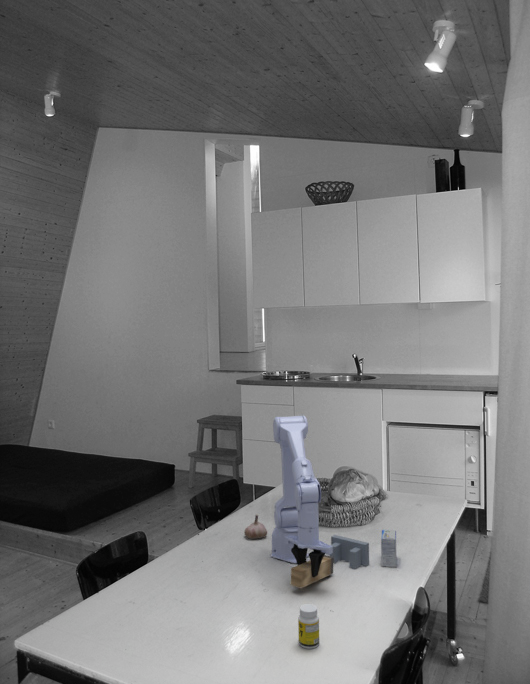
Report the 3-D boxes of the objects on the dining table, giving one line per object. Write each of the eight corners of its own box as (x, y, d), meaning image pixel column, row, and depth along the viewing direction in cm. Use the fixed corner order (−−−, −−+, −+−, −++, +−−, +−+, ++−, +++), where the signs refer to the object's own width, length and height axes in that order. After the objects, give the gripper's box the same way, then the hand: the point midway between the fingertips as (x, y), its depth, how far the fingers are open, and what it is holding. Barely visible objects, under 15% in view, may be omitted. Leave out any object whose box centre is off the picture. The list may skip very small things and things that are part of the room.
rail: (301, 588, 167) (301, 571, 167) (290, 584, 169) (291, 568, 169) (333, 573, 180) (333, 557, 180) (322, 570, 182) (323, 554, 182)
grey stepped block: (325, 560, 190) (324, 539, 190) (334, 555, 195) (334, 534, 194) (359, 570, 183) (359, 548, 183) (369, 564, 187) (368, 542, 187)
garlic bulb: (271, 536, 213) (270, 513, 212) (259, 543, 207) (259, 519, 206) (252, 532, 217) (252, 509, 216) (240, 539, 211) (240, 515, 210)
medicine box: (396, 568, 184) (396, 539, 184) (381, 567, 185) (380, 538, 185) (396, 557, 192) (396, 529, 192) (381, 556, 193) (381, 529, 193)
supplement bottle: (297, 638, 145) (296, 603, 145) (317, 637, 145) (316, 602, 145) (300, 650, 140) (299, 613, 140) (321, 648, 141) (320, 612, 140)
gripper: (278, 524, 174) (279, 572, 174) (322, 535, 165) (323, 585, 165) (293, 517, 179) (293, 564, 180) (336, 527, 170) (337, 576, 171)
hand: (308, 574), depth 173 cm, fingers closed on rail, 3 cm apart
